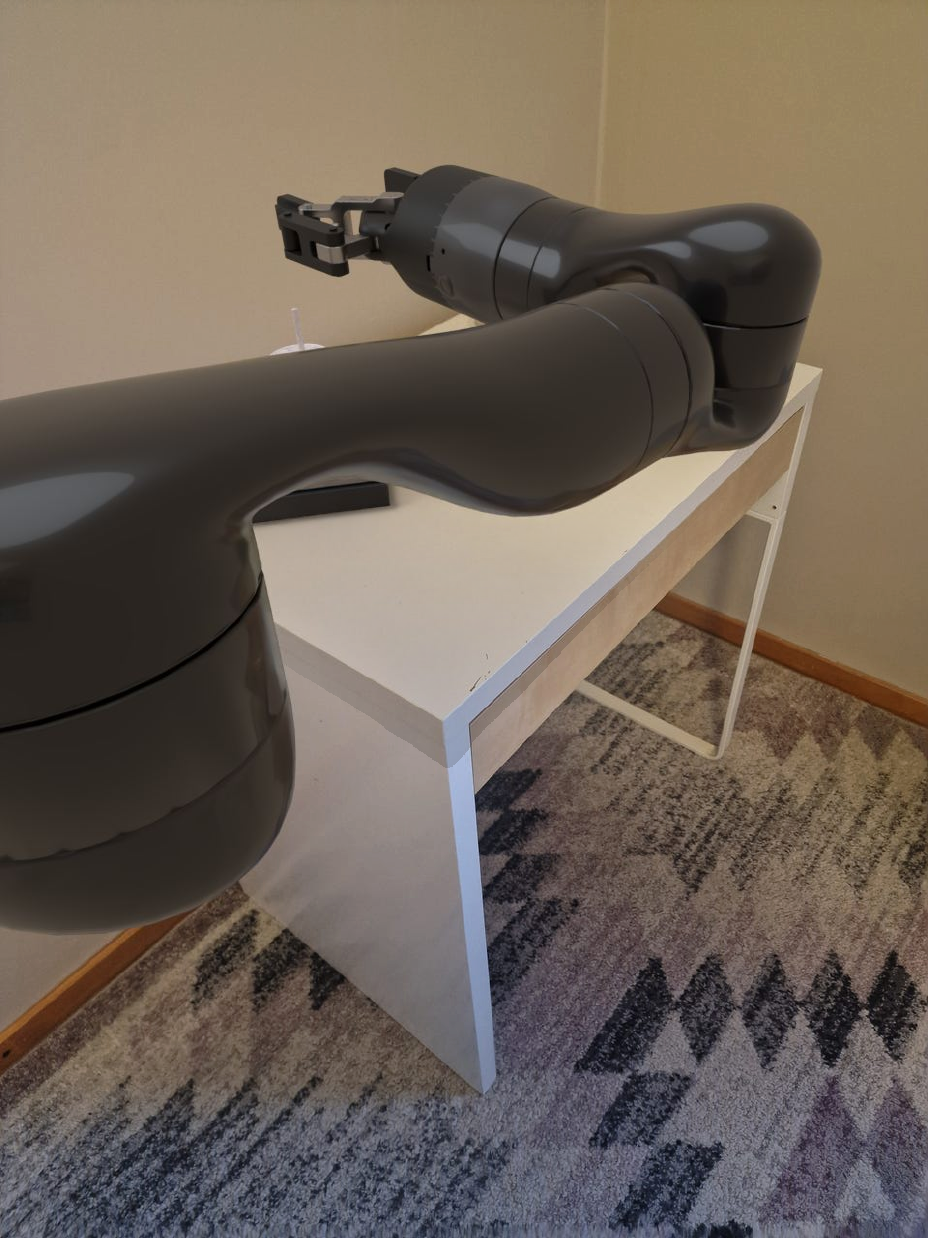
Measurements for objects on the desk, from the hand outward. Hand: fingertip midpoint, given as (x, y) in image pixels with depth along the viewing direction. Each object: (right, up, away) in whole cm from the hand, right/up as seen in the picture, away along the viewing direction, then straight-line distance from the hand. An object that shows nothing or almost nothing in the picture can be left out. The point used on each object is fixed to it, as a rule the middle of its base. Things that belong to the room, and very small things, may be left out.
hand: (337, 197), depth 59 cm
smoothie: (-6, -12, +28) cm, 31 cm away
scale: (-8, -14, +30) cm, 34 cm away
